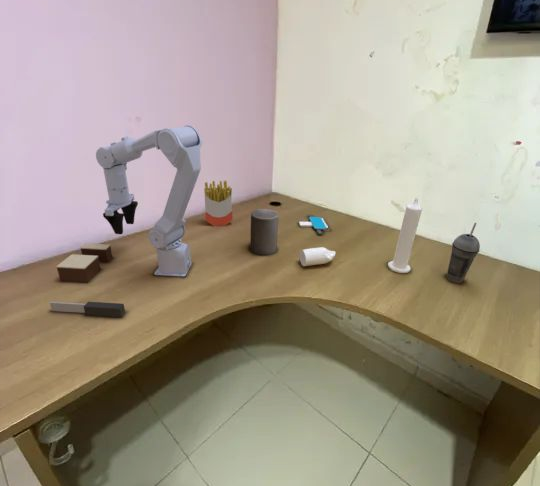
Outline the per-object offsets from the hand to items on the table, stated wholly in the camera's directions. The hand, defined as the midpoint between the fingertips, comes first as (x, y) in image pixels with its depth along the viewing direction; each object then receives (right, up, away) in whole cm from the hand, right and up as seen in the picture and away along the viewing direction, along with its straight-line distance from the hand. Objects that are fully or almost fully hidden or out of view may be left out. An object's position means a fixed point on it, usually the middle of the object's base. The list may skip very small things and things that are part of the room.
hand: (124, 228), depth 98 cm
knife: (+1, -21, -21) cm, 30 cm away
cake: (-10, -14, -6) cm, 18 cm away
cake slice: (-10, -10, +2) cm, 14 cm away
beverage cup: (+105, -16, +1) cm, 107 cm away
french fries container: (+25, +2, +32) cm, 41 cm away
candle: (+90, -13, +5) cm, 91 cm away
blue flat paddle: (+65, +2, +35) cm, 74 cm away
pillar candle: (+44, -7, +14) cm, 47 cm away
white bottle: (+63, -12, +6) cm, 64 cm away
